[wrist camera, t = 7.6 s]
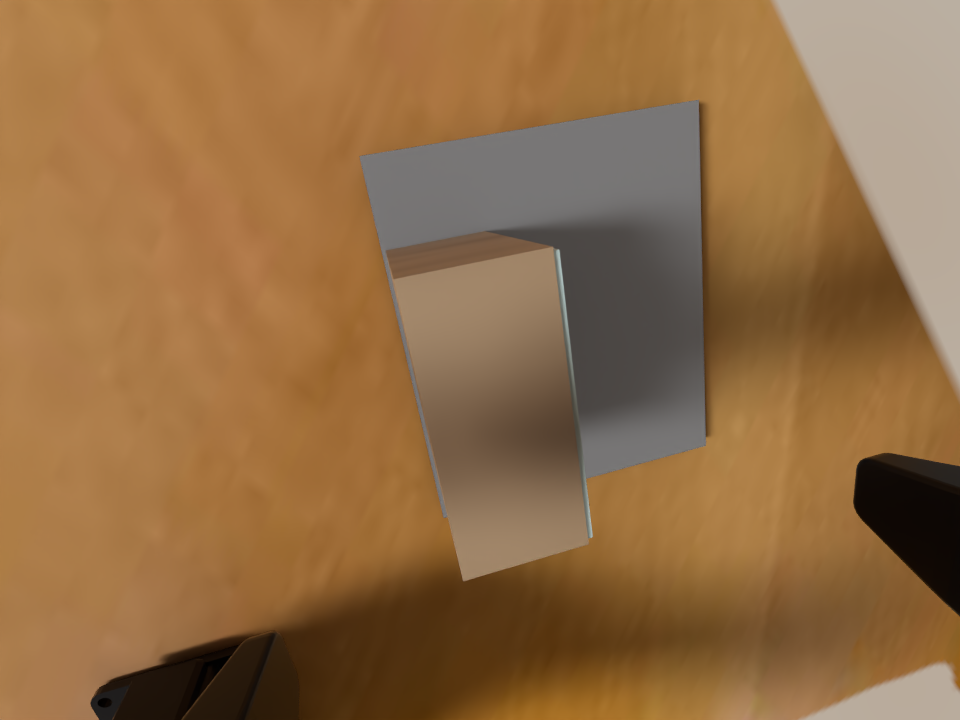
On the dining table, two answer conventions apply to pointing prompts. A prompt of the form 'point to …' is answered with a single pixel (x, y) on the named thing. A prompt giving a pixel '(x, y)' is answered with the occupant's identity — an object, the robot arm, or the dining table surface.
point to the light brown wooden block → (496, 394)
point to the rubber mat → (583, 257)
